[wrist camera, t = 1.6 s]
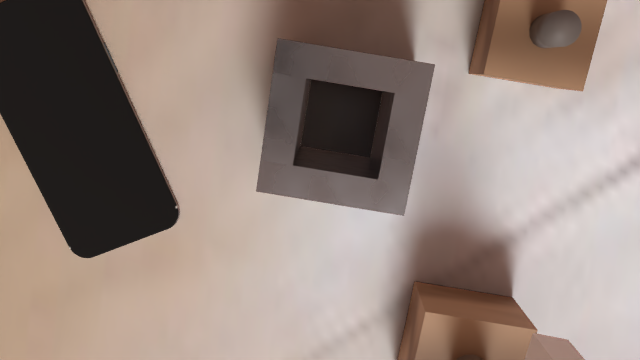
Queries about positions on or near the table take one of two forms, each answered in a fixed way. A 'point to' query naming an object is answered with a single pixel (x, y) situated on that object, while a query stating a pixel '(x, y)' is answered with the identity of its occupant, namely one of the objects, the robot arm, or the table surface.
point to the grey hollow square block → (334, 167)
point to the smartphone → (79, 128)
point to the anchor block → (538, 41)
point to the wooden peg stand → (463, 326)
